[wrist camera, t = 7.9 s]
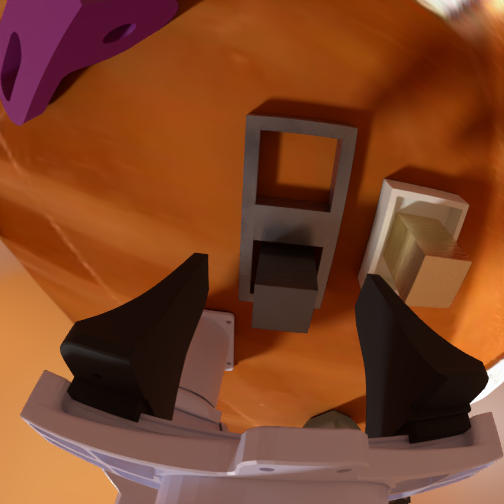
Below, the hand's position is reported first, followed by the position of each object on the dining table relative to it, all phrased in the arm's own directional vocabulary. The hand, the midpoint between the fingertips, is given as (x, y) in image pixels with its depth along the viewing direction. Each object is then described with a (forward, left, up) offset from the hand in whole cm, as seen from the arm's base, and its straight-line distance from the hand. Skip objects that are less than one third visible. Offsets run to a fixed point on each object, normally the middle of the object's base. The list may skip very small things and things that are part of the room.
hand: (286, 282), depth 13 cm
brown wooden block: (-2, -10, -9) cm, 14 cm away
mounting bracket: (+14, +18, -10) cm, 25 cm away
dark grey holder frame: (-1, 0, -10) cm, 10 cm away
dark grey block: (-5, 0, -10) cm, 11 cm away
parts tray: (-2, -10, -10) cm, 14 cm away
